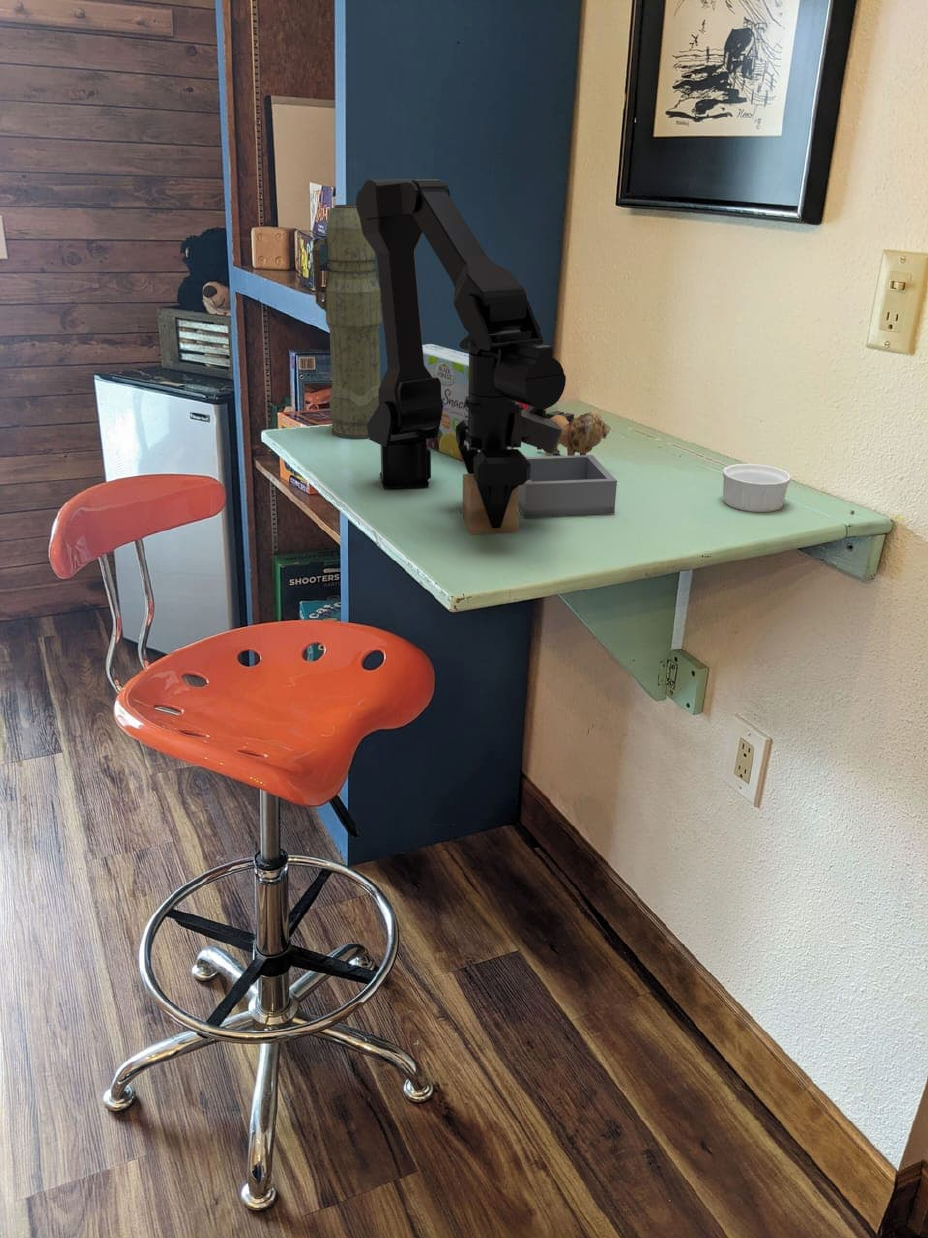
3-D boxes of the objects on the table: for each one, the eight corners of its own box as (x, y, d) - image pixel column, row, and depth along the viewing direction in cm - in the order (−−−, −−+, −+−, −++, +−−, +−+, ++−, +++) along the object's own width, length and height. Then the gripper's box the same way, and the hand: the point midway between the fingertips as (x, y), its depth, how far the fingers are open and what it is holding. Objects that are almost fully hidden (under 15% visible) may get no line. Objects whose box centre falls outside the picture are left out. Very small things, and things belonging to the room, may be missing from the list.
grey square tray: (524, 517, 130) (526, 484, 128) (507, 488, 141) (508, 457, 139) (614, 513, 132) (616, 480, 130) (590, 485, 143) (592, 454, 141)
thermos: (318, 427, 170) (306, 203, 155) (387, 423, 173) (381, 203, 158) (326, 441, 162) (314, 207, 147) (397, 436, 165) (393, 206, 150)
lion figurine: (612, 472, 148) (616, 412, 144) (584, 478, 146) (588, 417, 142) (549, 449, 159) (552, 392, 155) (522, 454, 156) (524, 397, 153)
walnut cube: (469, 534, 125) (470, 488, 122) (462, 518, 130) (462, 473, 127) (517, 532, 125) (518, 486, 123) (508, 516, 131) (509, 472, 128)
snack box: (405, 440, 163) (404, 346, 157) (433, 435, 166) (433, 342, 160) (487, 472, 148) (489, 369, 142) (516, 466, 151) (519, 364, 145)
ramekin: (786, 497, 139) (791, 466, 137) (786, 517, 132) (791, 485, 130) (721, 490, 141) (725, 460, 140) (716, 510, 134) (720, 479, 132)
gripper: (577, 408, 113) (569, 538, 120) (540, 374, 130) (536, 489, 137) (479, 411, 112) (477, 542, 118) (455, 376, 128) (454, 493, 135)
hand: (489, 515), depth 127 cm, fingers open, 9 cm apart
